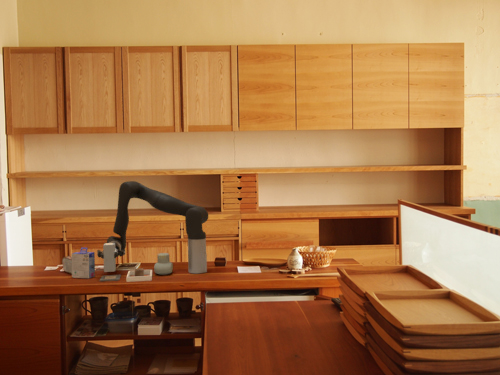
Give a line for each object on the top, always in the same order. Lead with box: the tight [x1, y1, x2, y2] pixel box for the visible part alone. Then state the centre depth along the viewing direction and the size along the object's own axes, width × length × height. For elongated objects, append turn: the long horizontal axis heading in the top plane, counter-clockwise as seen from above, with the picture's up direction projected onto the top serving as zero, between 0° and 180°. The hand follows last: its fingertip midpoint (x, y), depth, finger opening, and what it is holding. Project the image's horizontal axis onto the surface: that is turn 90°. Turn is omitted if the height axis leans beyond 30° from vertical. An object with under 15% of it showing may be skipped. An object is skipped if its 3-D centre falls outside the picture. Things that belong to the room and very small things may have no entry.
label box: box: [102, 242, 117, 273], centre depth 222 cm, size 5×5×13 cm
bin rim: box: [125, 269, 153, 283], centre depth 224 cm, size 12×13×2 cm
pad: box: [99, 274, 122, 282], centre depth 223 cm, size 9×9×1 cm
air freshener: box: [153, 252, 174, 276], centre depth 231 cm, size 11×8×10 cm
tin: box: [61, 255, 72, 275], centre depth 235 cm, size 15×3×8 cm, turn 47°
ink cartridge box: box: [71, 246, 96, 279], centre depth 226 cm, size 10×6×14 cm, turn 79°
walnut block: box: [134, 267, 145, 276], centre depth 220 cm, size 4×4×5 cm
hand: (108, 256), depth 220 cm, fingers closed on label box, 5 cm apart
